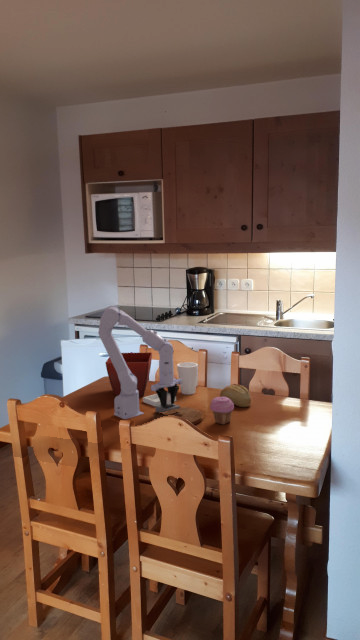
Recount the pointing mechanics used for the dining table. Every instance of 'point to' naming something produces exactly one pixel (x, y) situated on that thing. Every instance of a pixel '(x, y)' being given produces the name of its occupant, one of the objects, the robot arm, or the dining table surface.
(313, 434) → the dining table surface
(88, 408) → the dining table surface
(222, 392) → the bread roll
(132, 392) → the robot arm
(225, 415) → the cupcake
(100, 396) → the dining table surface
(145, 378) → the plant pot
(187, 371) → the foam cup
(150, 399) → the tray
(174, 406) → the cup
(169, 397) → the pin
